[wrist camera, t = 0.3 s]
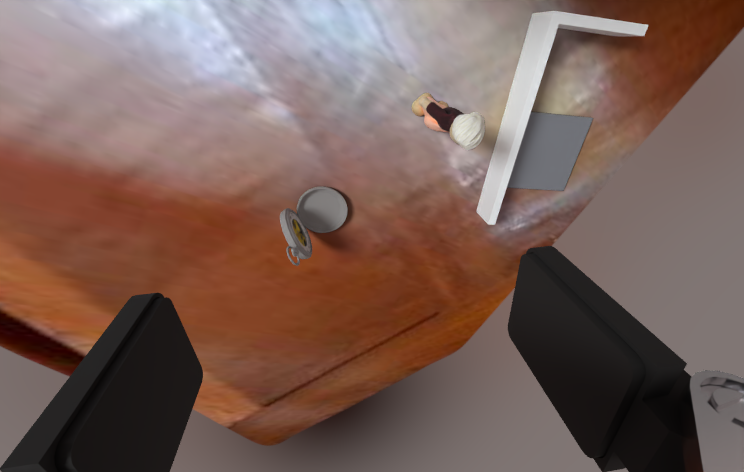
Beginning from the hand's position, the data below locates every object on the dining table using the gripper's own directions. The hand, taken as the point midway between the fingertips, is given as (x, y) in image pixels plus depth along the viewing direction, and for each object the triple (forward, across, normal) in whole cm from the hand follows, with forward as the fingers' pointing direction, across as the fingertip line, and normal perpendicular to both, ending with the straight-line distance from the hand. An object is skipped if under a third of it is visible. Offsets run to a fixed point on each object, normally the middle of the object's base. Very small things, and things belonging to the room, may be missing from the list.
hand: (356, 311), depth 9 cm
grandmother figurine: (+35, -12, +1) cm, 37 cm away
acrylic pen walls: (+35, -26, +5) cm, 44 cm away
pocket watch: (+35, +4, +13) cm, 38 cm away
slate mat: (+35, -27, +8) cm, 45 cm away
